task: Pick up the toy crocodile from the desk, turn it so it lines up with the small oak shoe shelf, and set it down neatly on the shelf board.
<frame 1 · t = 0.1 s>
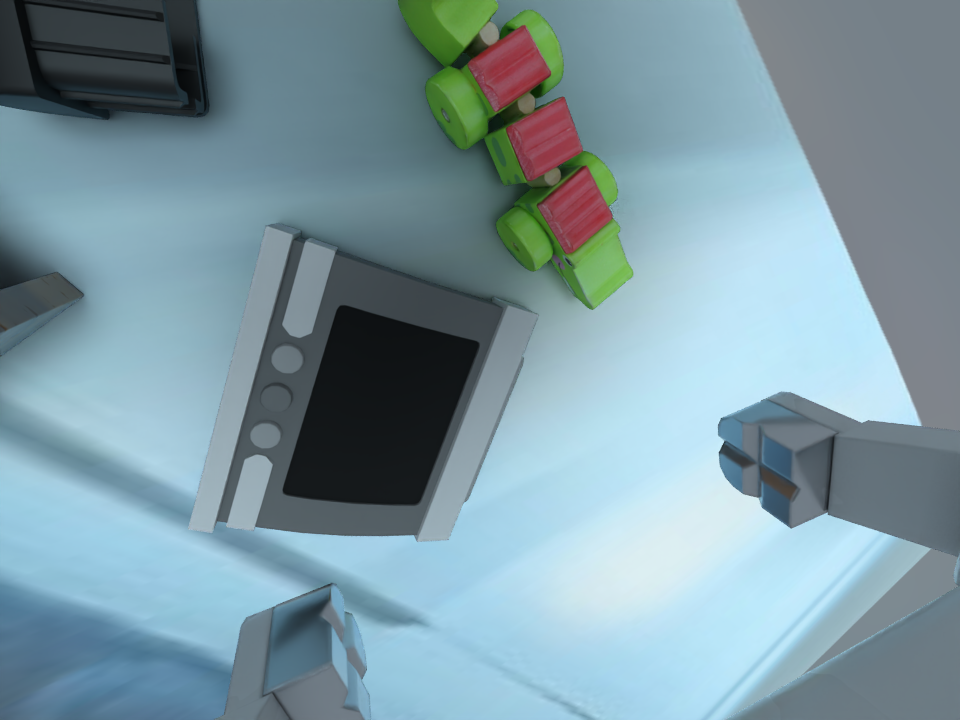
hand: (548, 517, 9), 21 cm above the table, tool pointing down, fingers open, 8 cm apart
toy crocodile: (514, 157, 28), on the table
alarm clock: (374, 396, 30), on the table
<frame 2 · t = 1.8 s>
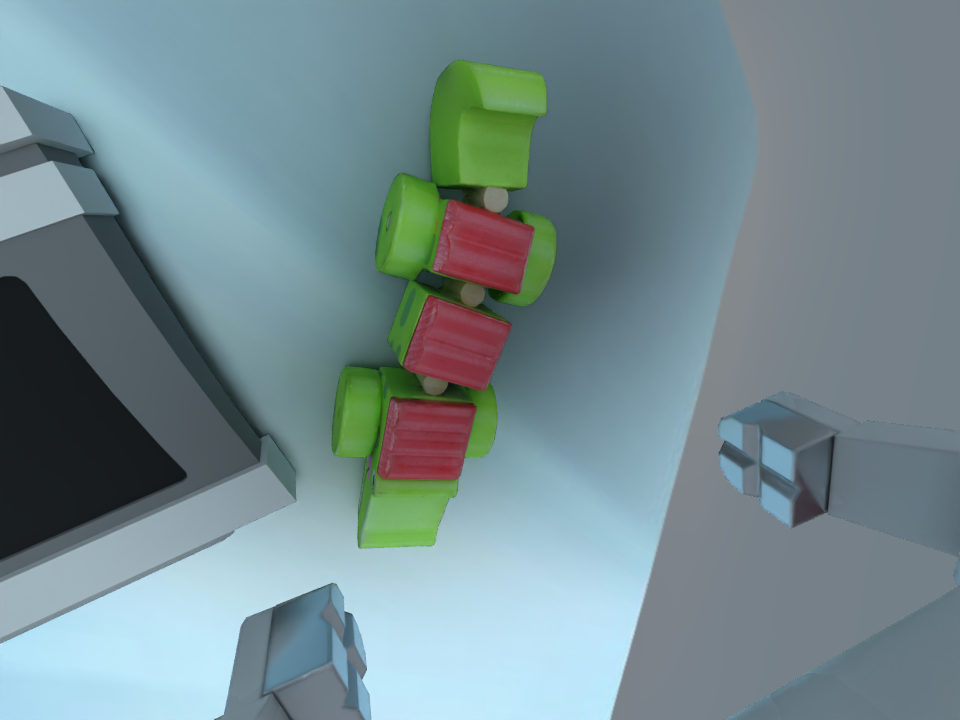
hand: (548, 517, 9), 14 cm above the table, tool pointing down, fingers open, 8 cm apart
toy crocodile: (426, 324, 22), on the table
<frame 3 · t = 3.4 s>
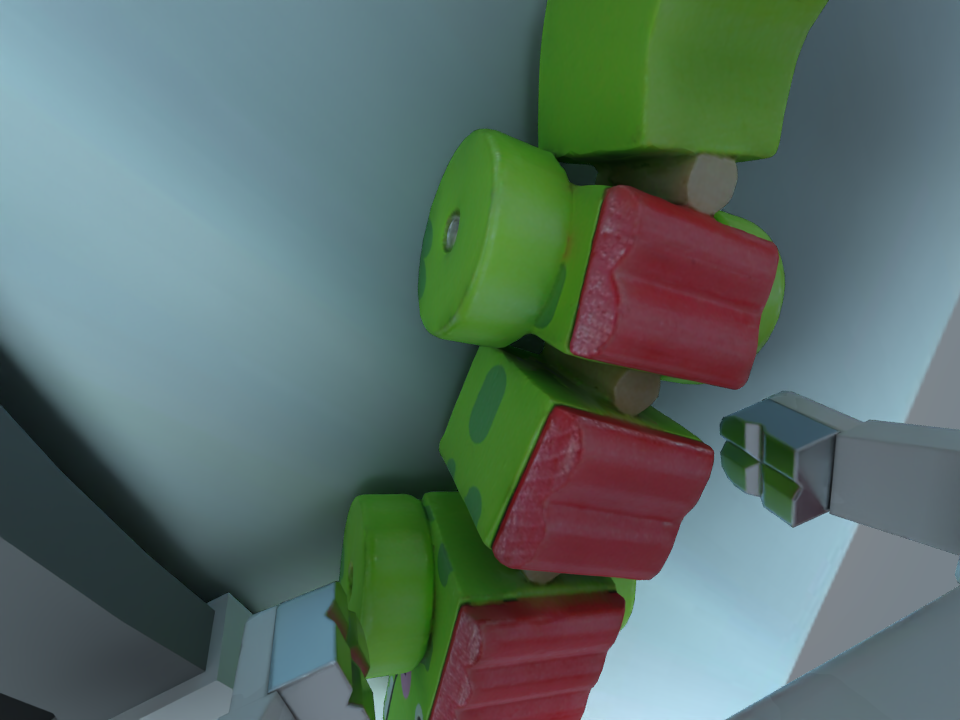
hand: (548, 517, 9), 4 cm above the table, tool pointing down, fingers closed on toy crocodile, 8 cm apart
toy crocodile: (497, 402, 13), on the table, touching gripper
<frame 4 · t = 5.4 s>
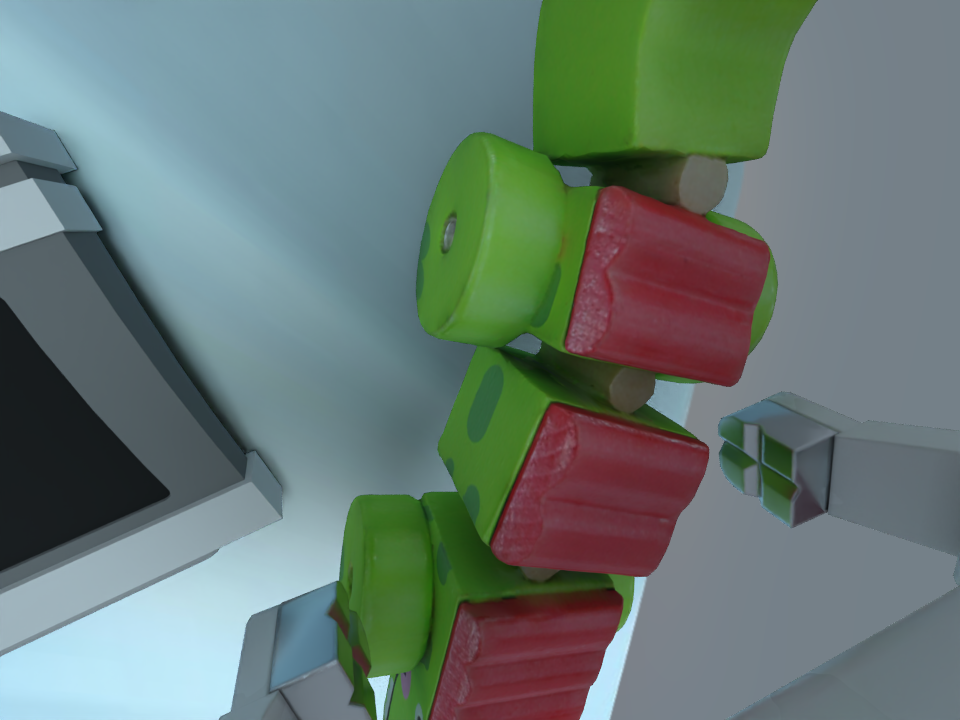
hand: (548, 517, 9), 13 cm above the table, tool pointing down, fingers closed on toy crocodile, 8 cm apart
toy crocodile: (496, 403, 13), point 9 cm above the table, touching gripper
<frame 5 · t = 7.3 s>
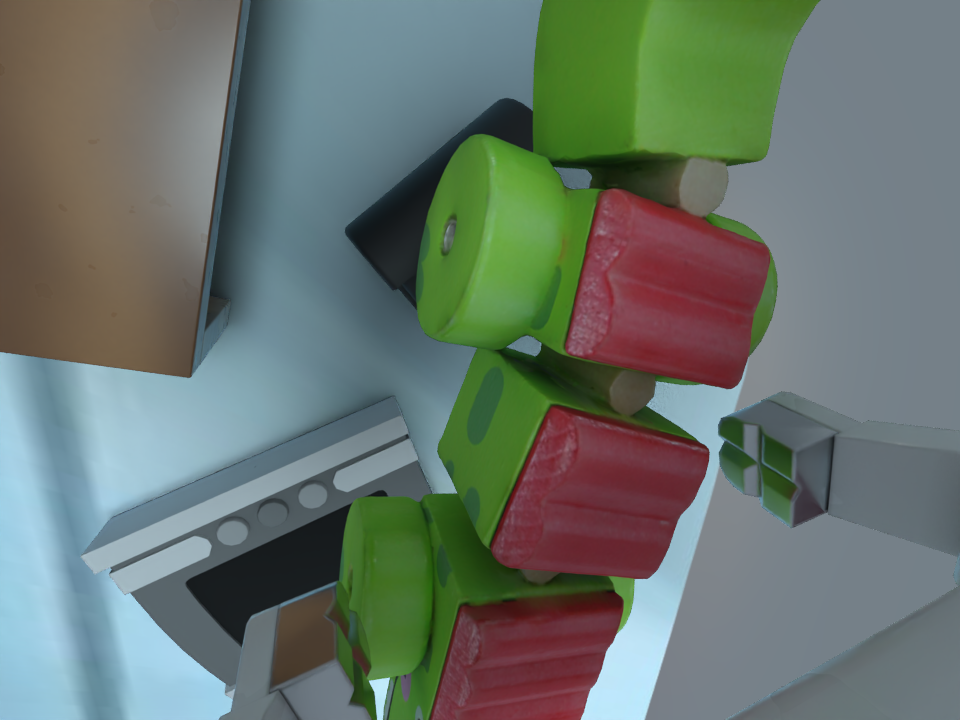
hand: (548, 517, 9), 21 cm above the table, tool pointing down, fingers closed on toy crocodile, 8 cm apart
toy crocodile: (495, 405, 13), point 17 cm above the table, touching gripper
shoe shelf: (114, 8, 20), on the table
alarm clock: (318, 545, 31), on the table
end cap: (447, 220, 27), on the table
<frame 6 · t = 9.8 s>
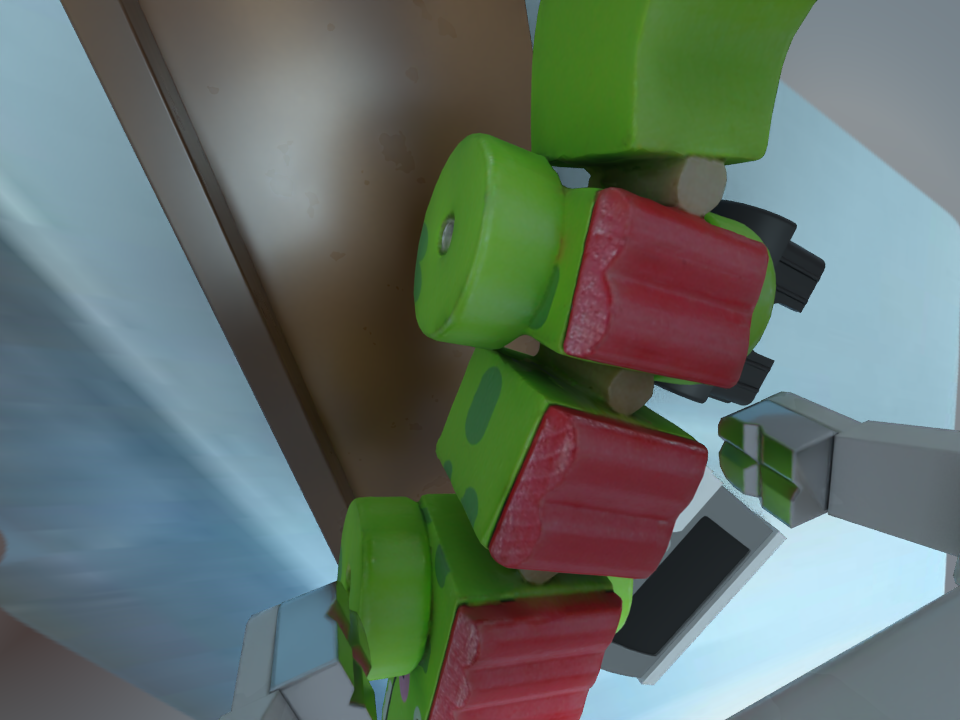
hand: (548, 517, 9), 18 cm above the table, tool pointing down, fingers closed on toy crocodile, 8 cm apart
toy crocodile: (494, 405, 13), point 14 cm above the table, touching gripper
shoe shelf: (404, 308, 25), on the table
alarm clock: (653, 563, 39), on the table
end cap: (666, 293, 30), on the table
when the fingers open (12 cm above the table, at t = 12.3 s): toy crocodile stays where it is, resting on shoe shelf.
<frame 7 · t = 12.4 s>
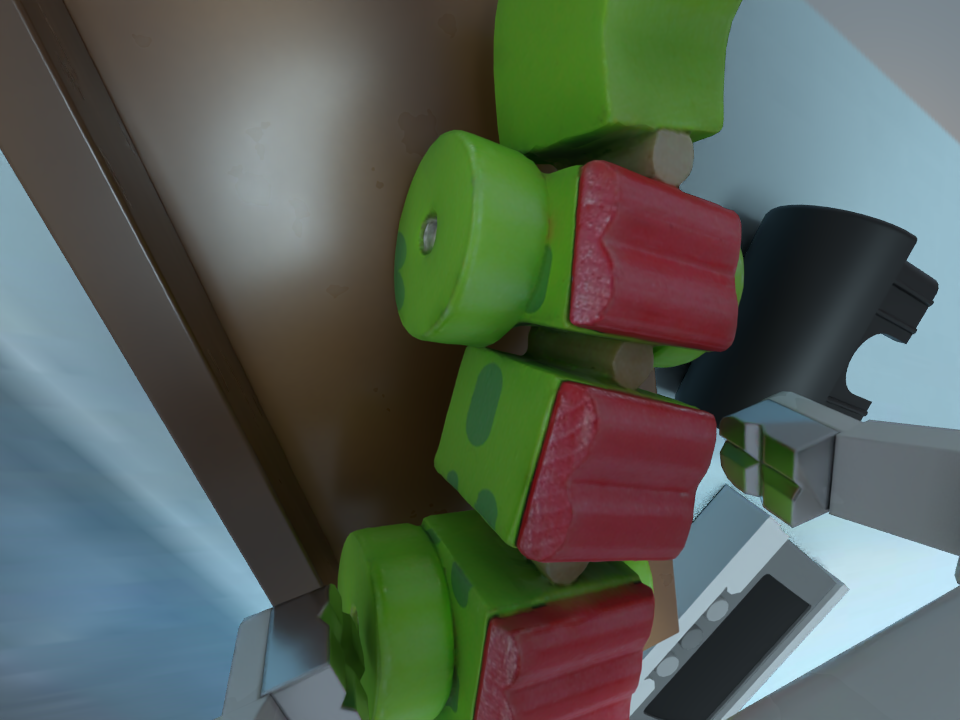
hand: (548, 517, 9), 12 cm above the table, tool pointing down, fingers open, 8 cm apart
toy crocodile: (483, 417, 12), point 9 cm above the table, touching shoe shelf
shoe shelf: (419, 341, 20), on the table
alarm clock: (699, 620, 34), on the table
end cap: (727, 316, 26), on the table
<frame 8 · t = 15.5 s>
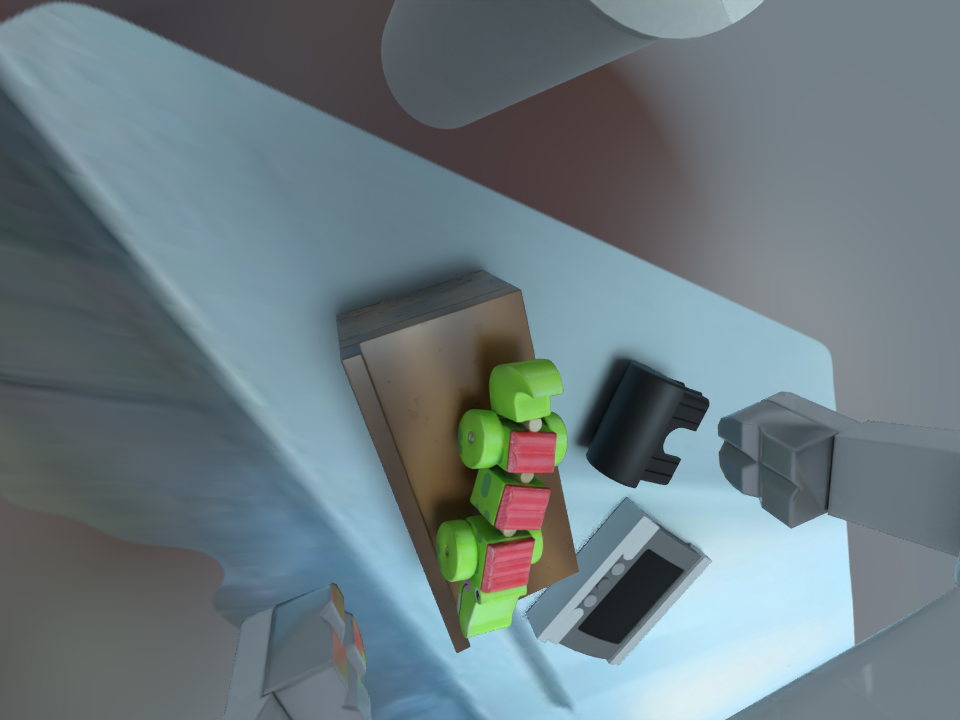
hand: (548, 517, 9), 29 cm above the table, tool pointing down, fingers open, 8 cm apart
toy crocodile: (486, 481, 34), point 9 cm above the table, touching shoe shelf
shoe shelf: (454, 430, 42), on the table
alarm clock: (617, 579, 55), on the table
end cap: (618, 407, 47), on the table
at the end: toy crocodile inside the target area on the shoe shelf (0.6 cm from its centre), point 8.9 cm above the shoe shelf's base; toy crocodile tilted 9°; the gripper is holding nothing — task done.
